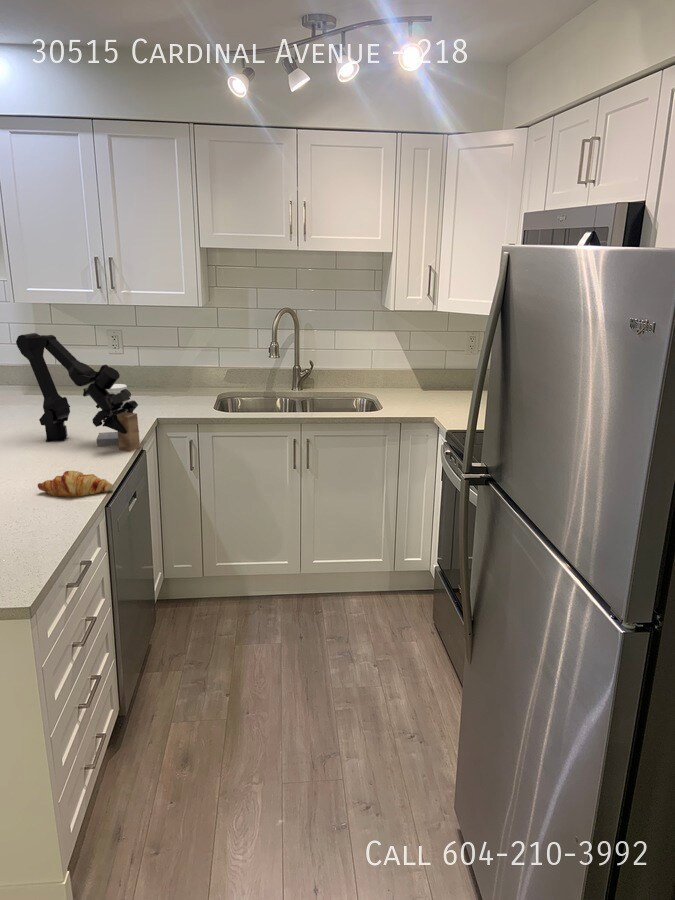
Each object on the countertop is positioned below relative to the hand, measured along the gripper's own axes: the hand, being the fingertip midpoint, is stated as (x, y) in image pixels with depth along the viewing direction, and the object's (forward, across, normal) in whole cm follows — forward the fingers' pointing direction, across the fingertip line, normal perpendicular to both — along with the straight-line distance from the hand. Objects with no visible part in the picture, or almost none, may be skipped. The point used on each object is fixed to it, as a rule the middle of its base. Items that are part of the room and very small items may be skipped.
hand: (131, 431), depth 228 cm
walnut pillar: (+4, 0, +6) cm, 7 cm away
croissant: (+13, -41, -3) cm, 43 cm away
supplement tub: (-16, +29, +26) cm, 42 cm away
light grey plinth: (-4, +4, +14) cm, 15 cm away
